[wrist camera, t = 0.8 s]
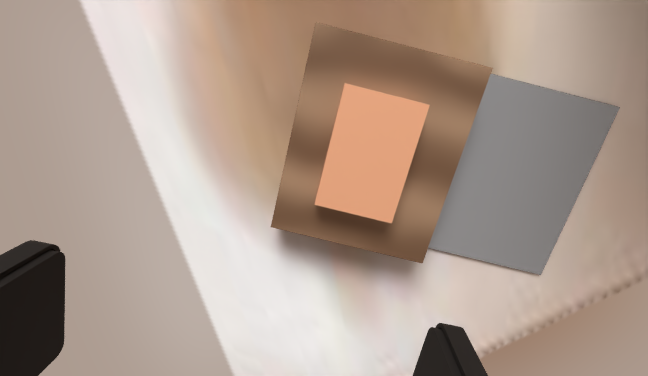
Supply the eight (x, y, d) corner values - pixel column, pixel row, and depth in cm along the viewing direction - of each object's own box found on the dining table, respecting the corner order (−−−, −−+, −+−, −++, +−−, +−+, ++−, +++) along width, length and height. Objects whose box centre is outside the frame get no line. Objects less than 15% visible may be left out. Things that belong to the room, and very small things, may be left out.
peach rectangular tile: (344, 83, 27) (344, 83, 25) (423, 103, 27) (429, 104, 25) (316, 196, 29) (314, 204, 27) (388, 214, 30) (391, 223, 28)
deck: (318, 29, 30) (315, 21, 26) (473, 69, 30) (492, 68, 26) (278, 210, 34) (270, 227, 30) (412, 242, 35) (422, 263, 31)
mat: (478, 71, 30) (480, 70, 30) (617, 106, 30) (619, 107, 30) (418, 244, 35) (418, 245, 34) (539, 273, 35) (540, 275, 35)
